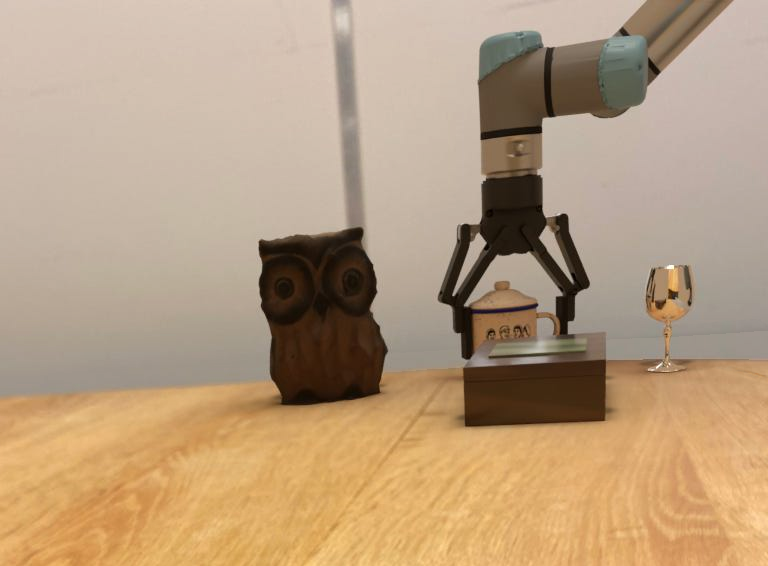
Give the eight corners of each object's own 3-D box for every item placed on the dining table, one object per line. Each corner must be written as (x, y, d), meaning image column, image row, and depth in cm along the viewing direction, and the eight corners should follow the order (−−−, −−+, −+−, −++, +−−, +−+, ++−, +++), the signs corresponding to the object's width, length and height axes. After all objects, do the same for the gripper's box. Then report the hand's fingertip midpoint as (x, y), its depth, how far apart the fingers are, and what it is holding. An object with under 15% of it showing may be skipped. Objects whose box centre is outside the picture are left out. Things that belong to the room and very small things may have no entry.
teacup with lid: (475, 381, 137) (472, 287, 132) (463, 372, 145) (460, 282, 141) (568, 372, 136) (569, 277, 132) (551, 363, 145) (551, 273, 141)
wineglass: (688, 364, 133) (692, 263, 129) (693, 371, 128) (698, 266, 124) (640, 367, 135) (643, 267, 130) (643, 374, 130) (646, 271, 125)
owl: (394, 391, 136) (384, 224, 129) (327, 409, 128) (313, 232, 120) (321, 387, 144) (309, 230, 137) (255, 404, 136) (237, 239, 129)
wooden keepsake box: (485, 390, 130) (484, 338, 128) (604, 383, 126) (605, 330, 124) (464, 426, 110) (462, 365, 108) (605, 420, 107) (606, 357, 104)
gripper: (421, 184, 128) (429, 366, 136) (618, 164, 129) (614, 346, 137) (409, 186, 135) (417, 359, 143) (596, 167, 136) (594, 340, 144)
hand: (514, 353), depth 140 cm, fingers closed on teacup with lid, 12 cm apart
